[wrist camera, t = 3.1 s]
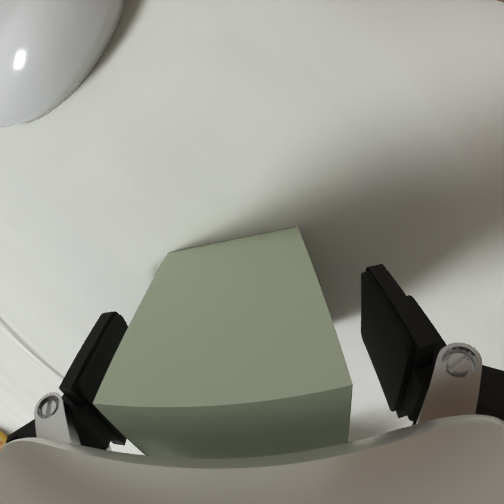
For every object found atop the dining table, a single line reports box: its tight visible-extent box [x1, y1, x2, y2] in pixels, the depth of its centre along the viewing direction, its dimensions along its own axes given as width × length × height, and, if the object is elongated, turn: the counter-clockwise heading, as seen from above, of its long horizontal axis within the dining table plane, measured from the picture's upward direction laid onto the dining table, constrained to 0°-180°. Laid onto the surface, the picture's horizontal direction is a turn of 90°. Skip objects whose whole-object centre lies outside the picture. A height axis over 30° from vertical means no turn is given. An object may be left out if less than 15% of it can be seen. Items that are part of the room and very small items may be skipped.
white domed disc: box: [0, 0, 125, 128], centre depth 6 cm, size 9×9×2 cm
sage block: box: [93, 227, 353, 459], centre depth 9 cm, size 5×5×7 cm
